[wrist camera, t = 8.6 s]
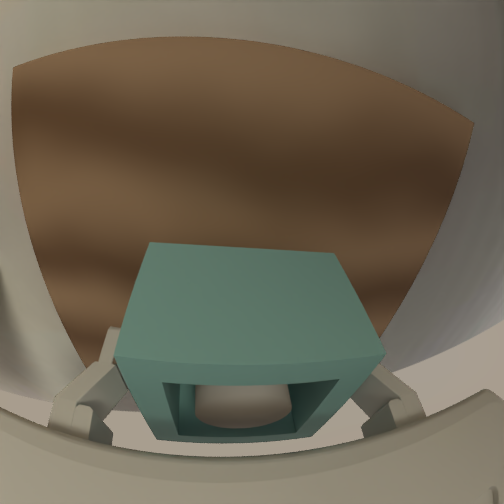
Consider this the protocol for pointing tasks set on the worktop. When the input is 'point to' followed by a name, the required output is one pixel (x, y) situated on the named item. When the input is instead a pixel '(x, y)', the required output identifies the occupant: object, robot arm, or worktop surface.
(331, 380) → the teal open cubby box
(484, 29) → the worktop surface
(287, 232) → the post board
